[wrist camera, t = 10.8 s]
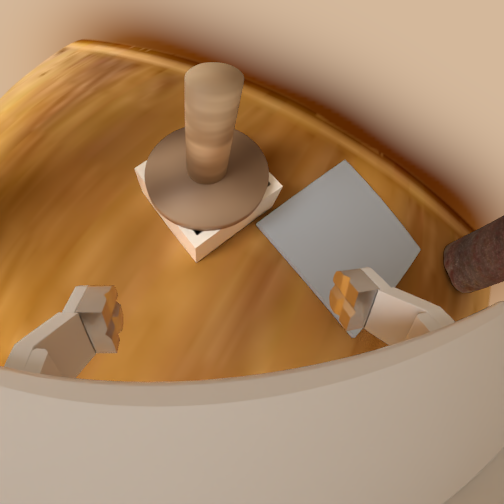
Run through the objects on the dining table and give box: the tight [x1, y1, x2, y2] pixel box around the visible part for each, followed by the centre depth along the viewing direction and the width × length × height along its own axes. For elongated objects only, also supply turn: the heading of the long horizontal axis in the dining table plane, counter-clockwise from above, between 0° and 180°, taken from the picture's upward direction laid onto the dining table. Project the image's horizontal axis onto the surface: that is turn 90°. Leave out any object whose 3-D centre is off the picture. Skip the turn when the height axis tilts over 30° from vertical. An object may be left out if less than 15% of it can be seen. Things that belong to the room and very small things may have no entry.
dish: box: [134, 161, 283, 263], centre depth 23 cm, size 9×9×4 cm
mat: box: [256, 160, 421, 338], centre depth 26 cm, size 14×14×1 cm
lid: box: [144, 62, 269, 231], centre depth 17 cm, size 10×10×10 cm
